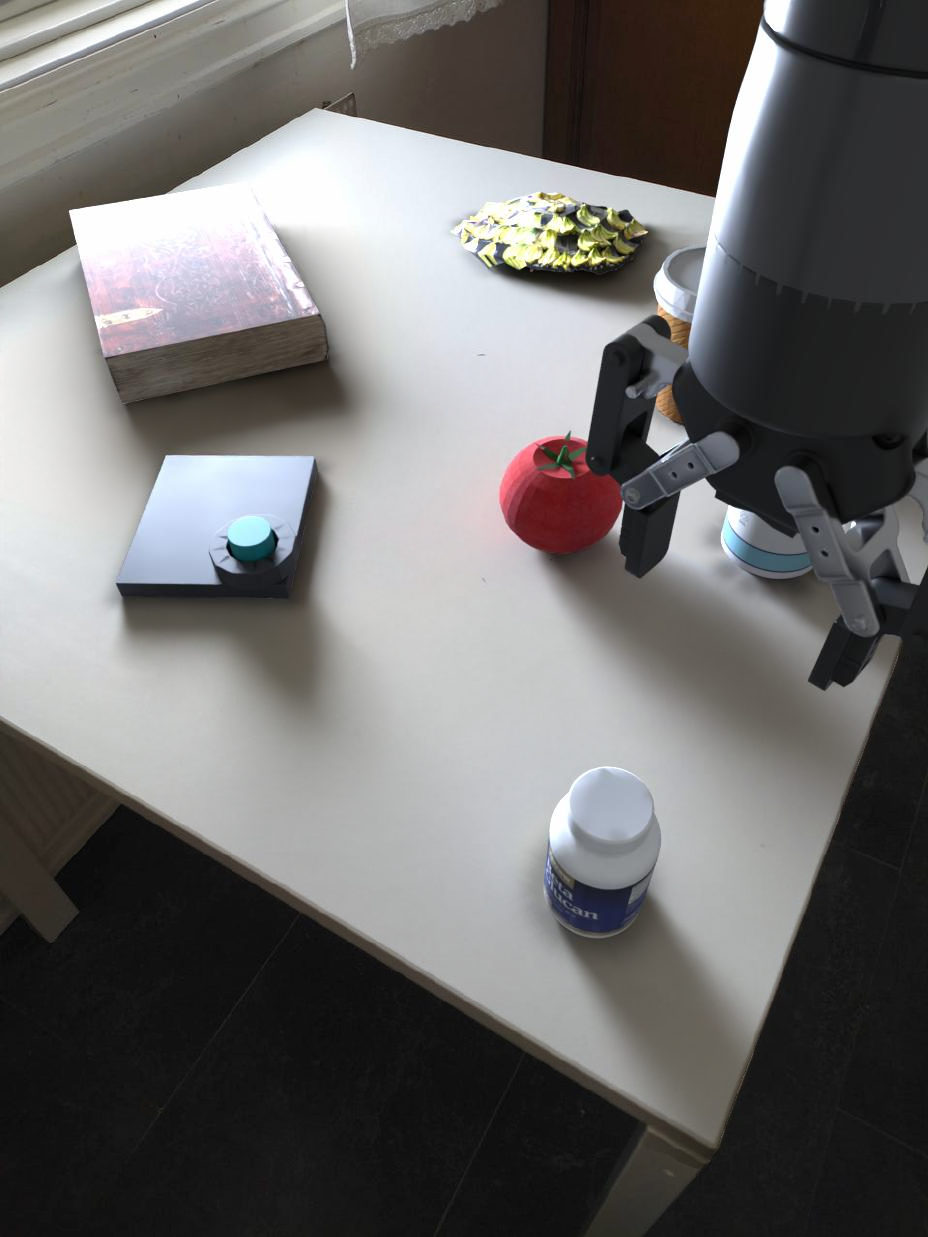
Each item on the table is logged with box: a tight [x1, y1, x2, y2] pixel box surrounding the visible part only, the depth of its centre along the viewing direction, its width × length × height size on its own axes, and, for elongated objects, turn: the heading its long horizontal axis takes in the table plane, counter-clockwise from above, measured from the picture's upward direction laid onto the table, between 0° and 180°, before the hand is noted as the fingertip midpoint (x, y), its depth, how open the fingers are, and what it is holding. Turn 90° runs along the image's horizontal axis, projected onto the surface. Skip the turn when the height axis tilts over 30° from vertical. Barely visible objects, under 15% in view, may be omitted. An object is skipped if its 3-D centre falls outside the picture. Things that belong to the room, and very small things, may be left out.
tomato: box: [498, 430, 624, 555], centre depth 64 cm, size 9×9×8 cm
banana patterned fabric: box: [450, 191, 649, 276], centre depth 94 cm, size 20×16×7 cm
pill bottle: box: [543, 766, 662, 939], centre depth 45 cm, size 5×5×10 cm
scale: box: [115, 454, 319, 600], centre depth 67 cm, size 14×12×3 cm
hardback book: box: [68, 181, 330, 405], centre depth 87 cm, size 29×19×5 cm, turn 22°
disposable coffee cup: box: [653, 243, 707, 425], centre depth 72 cm, size 10×10×12 cm
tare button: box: [227, 517, 275, 562], centre depth 62 cm, size 3×3×2 cm
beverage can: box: [720, 505, 813, 580], centre depth 61 cm, size 7×7×12 cm
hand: (732, 617), depth 36 cm, fingers open, 8 cm apart
